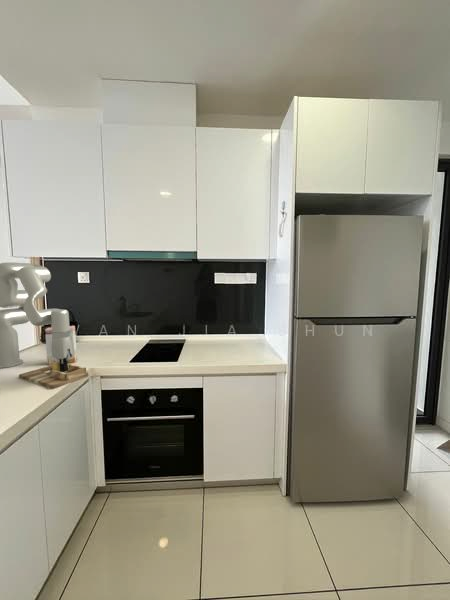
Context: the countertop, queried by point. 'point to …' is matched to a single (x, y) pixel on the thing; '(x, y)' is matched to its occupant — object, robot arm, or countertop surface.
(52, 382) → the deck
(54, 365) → the cube
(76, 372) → the cubby
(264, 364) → the countertop surface
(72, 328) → the cracker box
